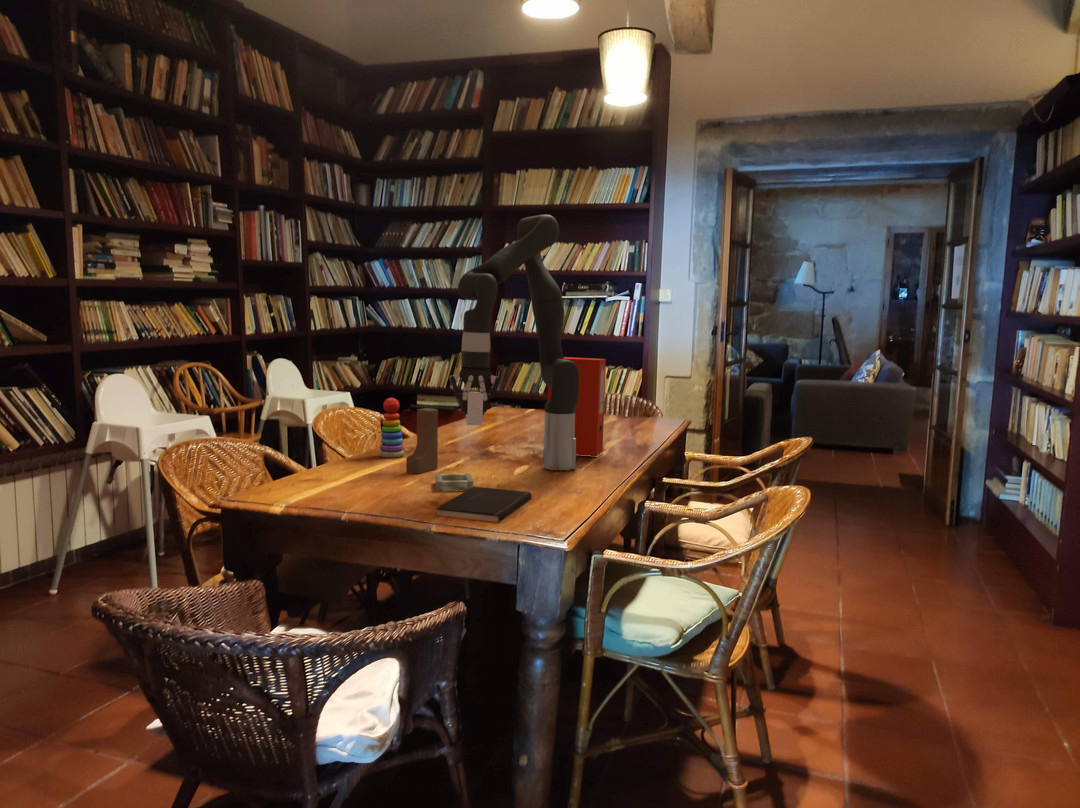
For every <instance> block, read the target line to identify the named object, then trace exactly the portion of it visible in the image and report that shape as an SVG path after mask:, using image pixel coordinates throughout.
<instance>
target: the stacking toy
mask: <svg viewBox="0 0 1080 808" xmlns="http://www.w3.org/2000/svg"><path fill="white" fill-rule="evenodd" d="M383 410H384V411H385V413H384V414H383V418H384V420H383V421H382V425H383V426H382V427H381V430H382V432H381V437H382V438H381V439H380V443H381V444H380V445H379V449H380V451H379V453H378V454H379V456H380V457H382V458H387V459H395V458H396V457H397V458H401V456H402V457H403V456H404V455H405V450H404V444H403V443H404V439H403V437H402V436H403V432H402V427H401V421H400V419H399V418H400V414H399V413H398V411H399V410H400V402H399V400H397V399H396V398H395V397H388V398H386V399H385V400H384V402H383ZM397 458H396V459H397Z"/></svg>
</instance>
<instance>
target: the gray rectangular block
mask: <svg viewBox="0 0 1080 808" xmlns="http://www.w3.org/2000/svg"><path fill="white" fill-rule="evenodd" d="M483 416H484V415H483V393H481V392H480V391H469V393H468V396H467V414H465V425H467V426H483Z"/></svg>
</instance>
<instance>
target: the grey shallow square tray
mask: <svg viewBox="0 0 1080 808" xmlns="http://www.w3.org/2000/svg"><path fill="white" fill-rule="evenodd" d="M435 487H436V488H437V489H436V492H437V491H438V492H456V491H455V490H458V491H457V492H461V491H460V490H463V491H462V492H465V490H469V489H471V488H472V487H474V480H473V478H472V474H471V473H436V474H435Z"/></svg>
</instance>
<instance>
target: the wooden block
mask: <svg viewBox="0 0 1080 808" xmlns="http://www.w3.org/2000/svg"><path fill="white" fill-rule="evenodd" d="M416 415H417V416H416V447H415V449H414V452H413V453H412V454H410V455H408V456H406V458H405V460H406V462H405V463H406V464H405V465H406V467H405V468H406V469H405V470H406V472H407V473H411V472H412V474H416V473H418V474H422V473H425V472H429V470H430V471H434V470H437V469H438V466H439V465H438V461H439V460H438V451H439V449H438V445H439V443H438V439H439V438H438V434H439V433H438V432H439V429H438V427H439V425H438V421H439V419H438V418H439V410H438V409H437V408H430V407H424V408H418V409H416ZM436 468H437V469H436ZM433 469H434V470H433ZM421 472H422V473H421Z"/></svg>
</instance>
